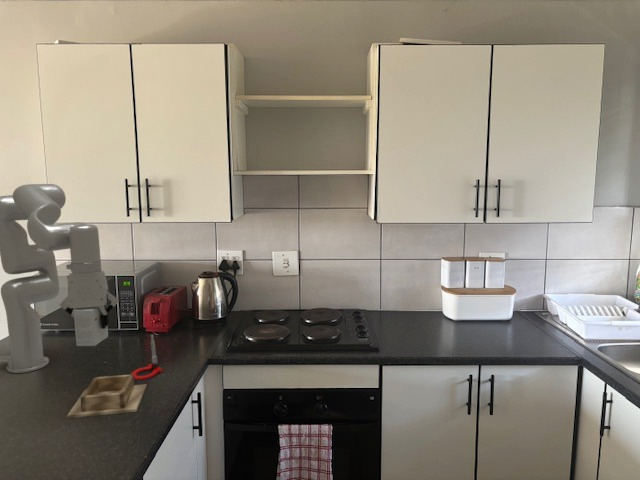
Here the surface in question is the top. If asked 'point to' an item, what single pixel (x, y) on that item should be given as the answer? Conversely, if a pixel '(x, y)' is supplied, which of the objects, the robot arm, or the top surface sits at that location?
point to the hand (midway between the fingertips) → (91, 327)
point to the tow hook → (153, 365)
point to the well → (109, 397)
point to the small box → (89, 326)
